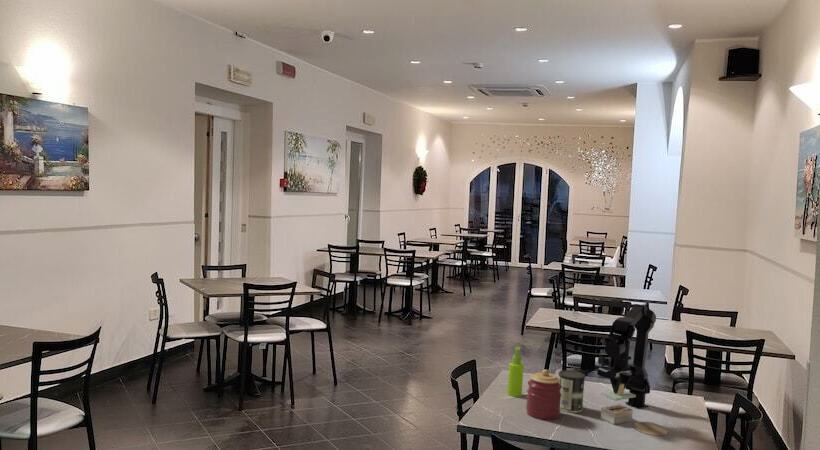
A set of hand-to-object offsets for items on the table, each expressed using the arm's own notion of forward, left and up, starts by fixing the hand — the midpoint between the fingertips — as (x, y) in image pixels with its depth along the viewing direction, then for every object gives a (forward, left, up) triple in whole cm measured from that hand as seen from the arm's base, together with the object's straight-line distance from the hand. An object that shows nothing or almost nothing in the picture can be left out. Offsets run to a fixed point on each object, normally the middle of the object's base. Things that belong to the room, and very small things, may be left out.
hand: (618, 392), depth 245 cm
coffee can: (+8, -17, -11) cm, 22 cm away
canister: (+23, -16, -11) cm, 30 cm away
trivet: (-5, +12, -11) cm, 17 cm away
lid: (0, 0, -1) cm, 1 cm away
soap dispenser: (+18, -39, -11) cm, 44 cm away
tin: (0, 0, -11) cm, 11 cm away
